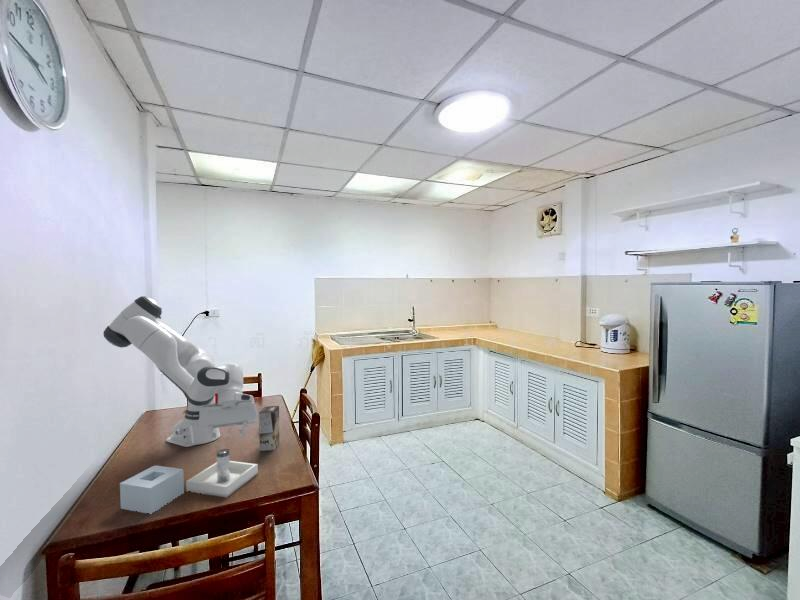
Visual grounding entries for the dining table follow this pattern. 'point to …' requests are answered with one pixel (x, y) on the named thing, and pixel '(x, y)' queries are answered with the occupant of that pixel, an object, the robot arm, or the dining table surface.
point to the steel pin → (223, 466)
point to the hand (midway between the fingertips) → (227, 436)
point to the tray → (209, 485)
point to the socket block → (151, 489)
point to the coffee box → (269, 428)
